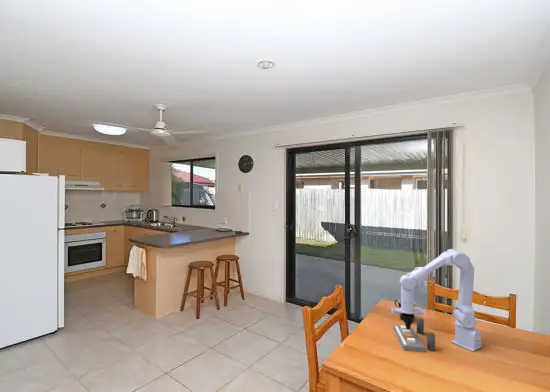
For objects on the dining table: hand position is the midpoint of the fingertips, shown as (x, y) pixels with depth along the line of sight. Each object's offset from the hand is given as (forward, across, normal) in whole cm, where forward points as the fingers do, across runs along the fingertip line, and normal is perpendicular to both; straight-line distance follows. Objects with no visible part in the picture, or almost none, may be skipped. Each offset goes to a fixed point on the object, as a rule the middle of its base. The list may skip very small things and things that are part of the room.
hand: (407, 328), depth 135 cm
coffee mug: (+6, -5, -24) cm, 25 cm away
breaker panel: (+5, 0, 0) cm, 5 cm away
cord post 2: (+5, -8, +8) cm, 12 cm away
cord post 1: (+5, -8, -8) cm, 12 cm away
